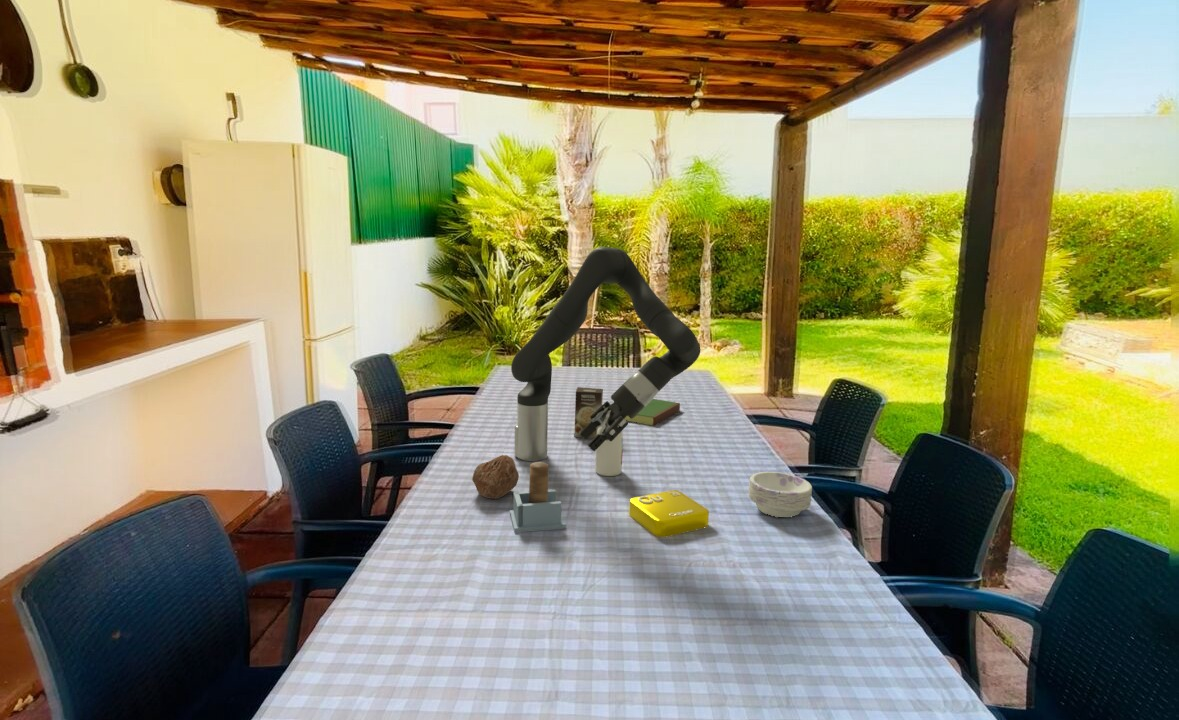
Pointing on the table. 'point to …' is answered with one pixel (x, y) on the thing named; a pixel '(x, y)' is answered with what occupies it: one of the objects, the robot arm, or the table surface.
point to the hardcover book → (655, 412)
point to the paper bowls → (780, 493)
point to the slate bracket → (536, 513)
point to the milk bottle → (609, 456)
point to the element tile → (668, 513)
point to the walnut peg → (538, 482)
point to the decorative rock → (496, 477)
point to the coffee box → (586, 408)
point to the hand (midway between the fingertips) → (586, 442)
